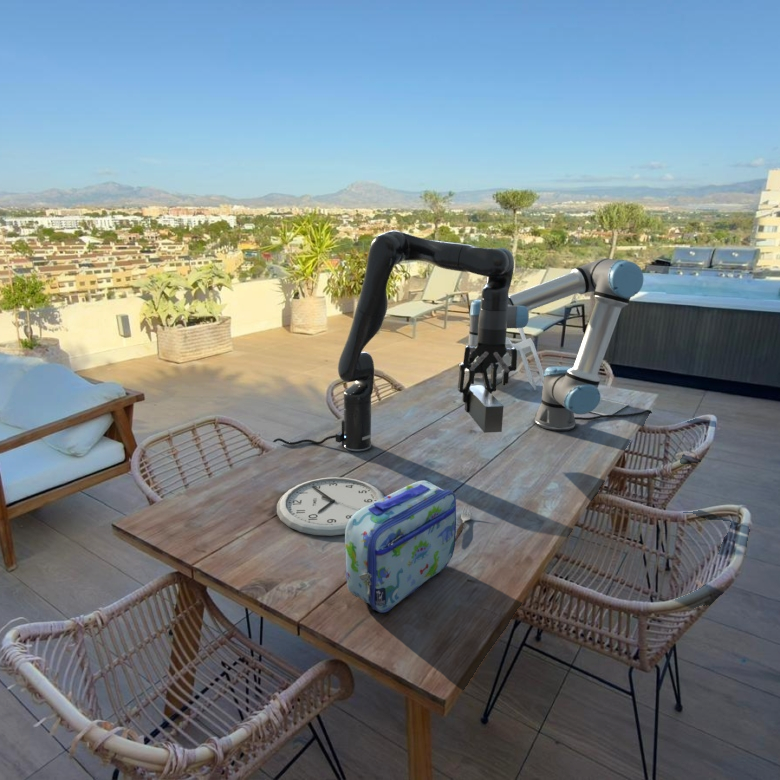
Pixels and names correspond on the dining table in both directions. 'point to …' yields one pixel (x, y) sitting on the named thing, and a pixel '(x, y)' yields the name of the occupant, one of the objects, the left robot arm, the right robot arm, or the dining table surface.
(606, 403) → the invitation card
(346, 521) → the wall clock
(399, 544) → the lunch box
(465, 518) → the fork
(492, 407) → the box
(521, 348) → the white plastic object
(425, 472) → the dining table surface
